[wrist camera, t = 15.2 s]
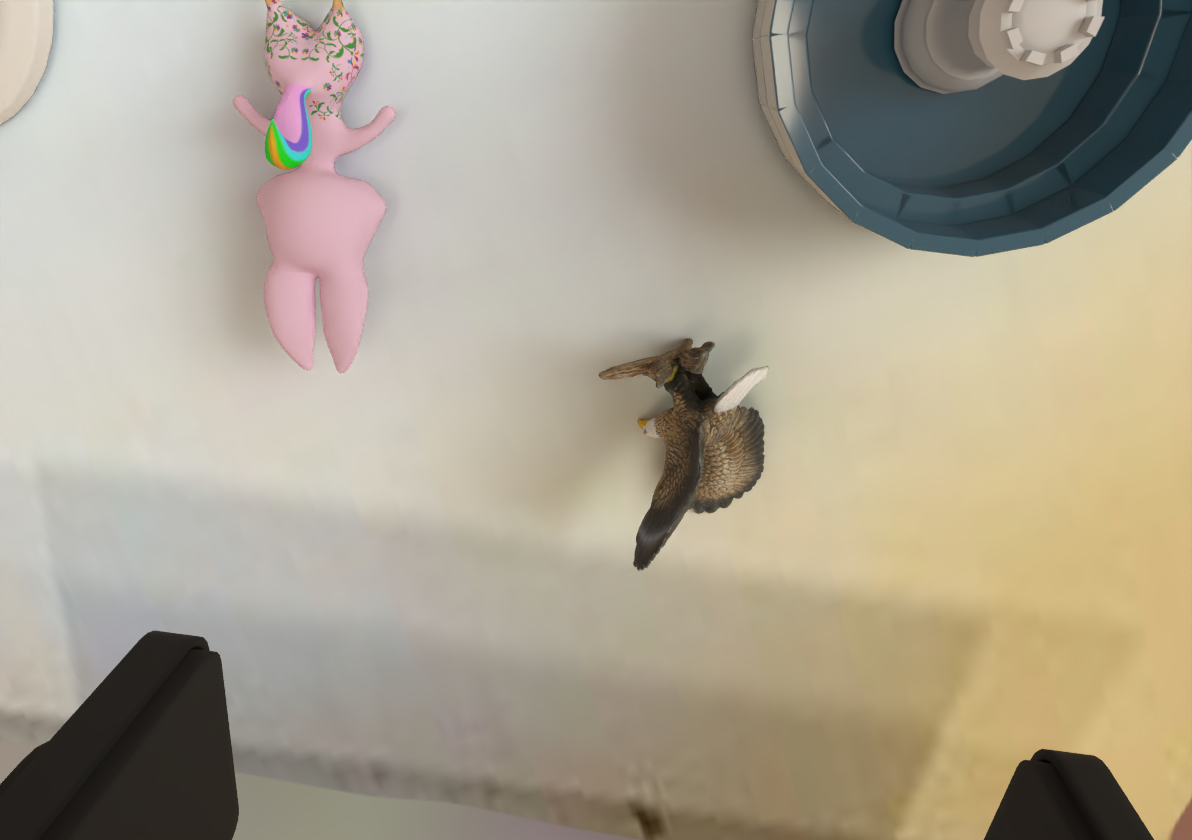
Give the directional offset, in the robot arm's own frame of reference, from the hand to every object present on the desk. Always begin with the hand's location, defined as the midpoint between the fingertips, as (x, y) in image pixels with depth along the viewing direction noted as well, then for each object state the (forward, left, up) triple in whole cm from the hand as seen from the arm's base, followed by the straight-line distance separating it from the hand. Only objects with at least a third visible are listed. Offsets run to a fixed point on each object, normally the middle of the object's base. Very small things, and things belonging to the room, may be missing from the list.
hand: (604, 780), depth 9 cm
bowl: (+10, +10, -26) cm, 30 cm away
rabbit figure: (-13, +2, -26) cm, 30 cm away
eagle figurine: (+3, -7, -26) cm, 28 cm away
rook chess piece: (+10, +10, -26) cm, 30 cm away
